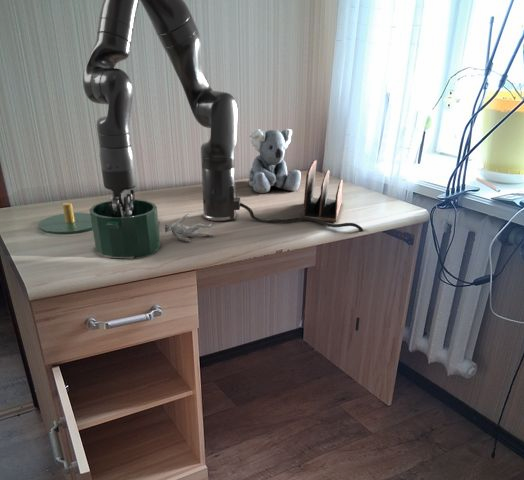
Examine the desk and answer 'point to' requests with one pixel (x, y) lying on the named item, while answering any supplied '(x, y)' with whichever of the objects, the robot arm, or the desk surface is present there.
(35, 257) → the desk surface
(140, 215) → the pot
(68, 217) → the lid
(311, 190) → the letter holder
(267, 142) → the koala plush
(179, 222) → the soldier figure
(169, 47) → the robot arm
